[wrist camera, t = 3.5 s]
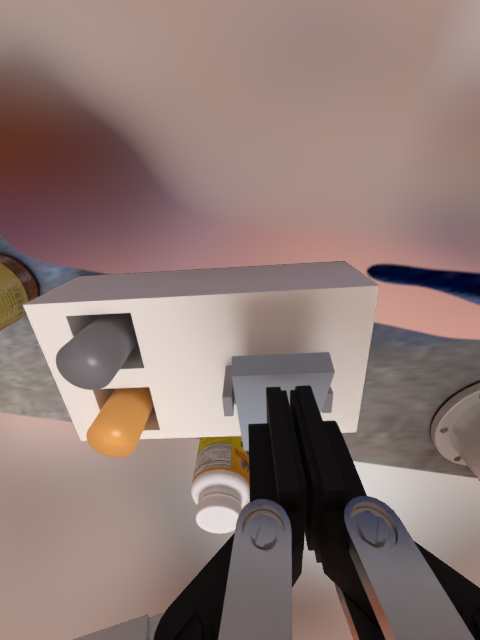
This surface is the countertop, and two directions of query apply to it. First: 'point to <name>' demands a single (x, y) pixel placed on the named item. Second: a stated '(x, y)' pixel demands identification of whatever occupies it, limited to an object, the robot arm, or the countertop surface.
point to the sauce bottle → (14, 290)
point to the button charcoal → (97, 351)
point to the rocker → (276, 382)
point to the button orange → (121, 422)
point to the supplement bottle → (220, 482)
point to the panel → (214, 337)
